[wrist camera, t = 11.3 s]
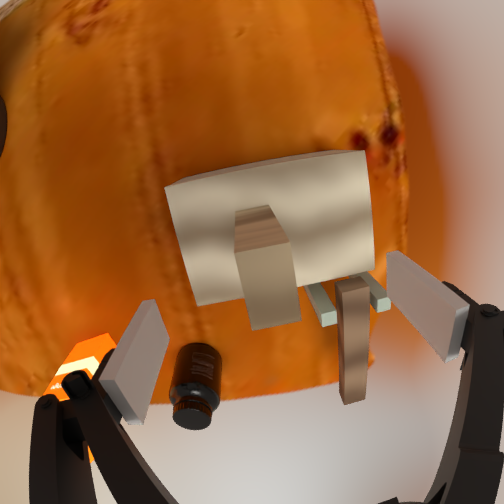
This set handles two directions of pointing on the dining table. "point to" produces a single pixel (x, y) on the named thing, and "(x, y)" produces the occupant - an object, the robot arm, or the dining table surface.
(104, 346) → the orange juice
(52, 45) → the dining table surface
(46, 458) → the robot arm
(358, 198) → the lid
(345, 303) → the brown wooden bar
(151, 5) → the dining table surface
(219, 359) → the supplement bottle
